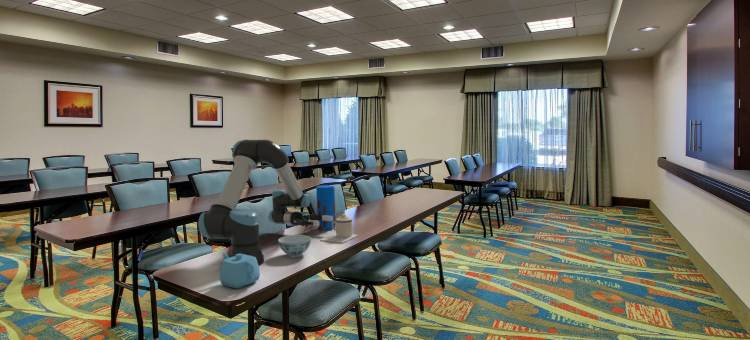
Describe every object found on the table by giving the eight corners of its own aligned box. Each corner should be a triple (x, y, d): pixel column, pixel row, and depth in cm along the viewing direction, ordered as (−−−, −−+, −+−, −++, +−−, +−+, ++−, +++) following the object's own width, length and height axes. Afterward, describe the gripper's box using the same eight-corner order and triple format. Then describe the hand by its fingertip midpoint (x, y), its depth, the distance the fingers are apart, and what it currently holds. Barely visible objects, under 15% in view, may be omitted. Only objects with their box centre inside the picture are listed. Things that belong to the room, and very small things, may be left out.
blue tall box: (329, 225, 253) (328, 184, 250) (339, 228, 244) (338, 186, 242) (314, 228, 246) (312, 186, 243) (323, 231, 237) (322, 188, 235)
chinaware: (309, 259, 184) (308, 242, 184) (275, 260, 184) (274, 243, 184) (313, 250, 199) (313, 234, 199) (282, 250, 199) (282, 235, 199)
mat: (343, 243, 211) (343, 242, 211) (320, 240, 217) (320, 239, 216) (357, 236, 225) (357, 234, 225) (335, 233, 231) (335, 232, 231)
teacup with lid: (355, 234, 226) (355, 213, 225) (347, 238, 218) (346, 216, 217) (336, 232, 231) (336, 212, 230) (327, 236, 223) (327, 215, 222)
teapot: (236, 274, 167) (235, 246, 166) (266, 282, 157) (265, 253, 156) (209, 283, 157) (207, 254, 156) (239, 293, 147) (238, 261, 146)
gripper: (306, 220, 244) (337, 223, 235) (279, 229, 222) (313, 233, 213) (306, 207, 243) (337, 210, 234) (279, 215, 221) (312, 218, 212)
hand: (325, 221), depth 223 cm, fingers open, 13 cm apart
